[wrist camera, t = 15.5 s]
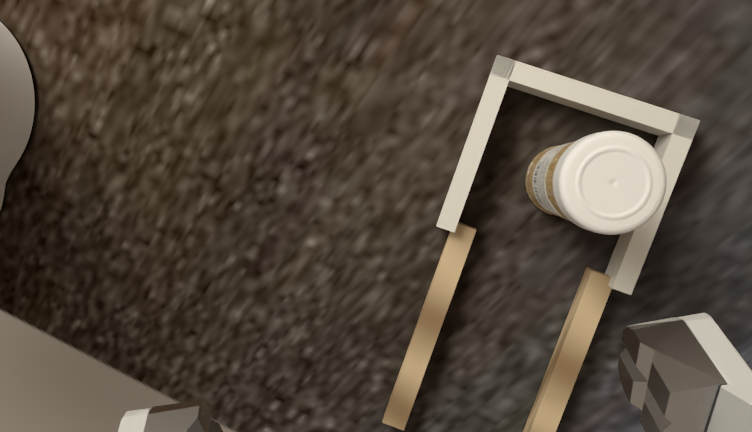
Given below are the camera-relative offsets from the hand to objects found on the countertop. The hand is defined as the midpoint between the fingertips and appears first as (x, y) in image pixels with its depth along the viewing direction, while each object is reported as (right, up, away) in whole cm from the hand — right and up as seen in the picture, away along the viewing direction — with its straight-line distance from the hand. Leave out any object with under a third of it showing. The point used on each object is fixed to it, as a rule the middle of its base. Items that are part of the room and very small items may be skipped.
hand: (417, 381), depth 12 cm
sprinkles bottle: (+11, +6, +28) cm, 31 cm away
